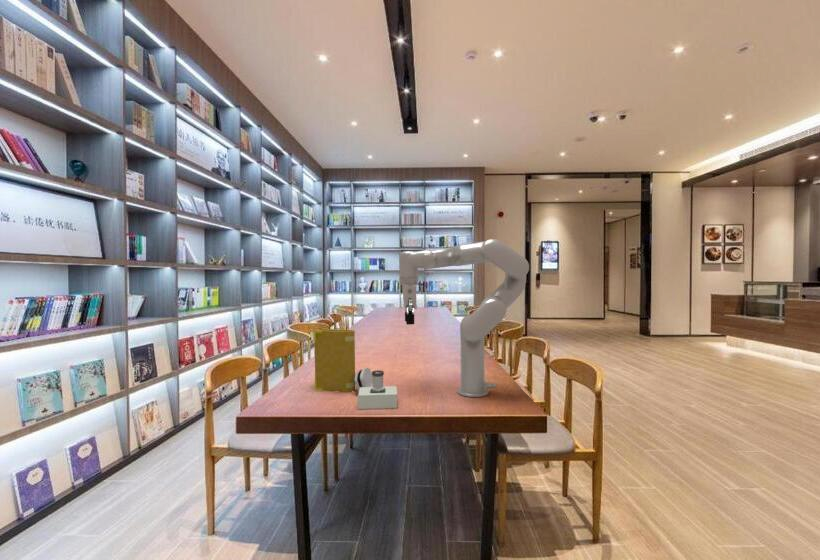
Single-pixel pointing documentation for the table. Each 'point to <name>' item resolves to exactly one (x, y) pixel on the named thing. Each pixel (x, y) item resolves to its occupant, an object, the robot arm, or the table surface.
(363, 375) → the hinge
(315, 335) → the book
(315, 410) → the table surface
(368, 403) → the socket block
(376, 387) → the pin
